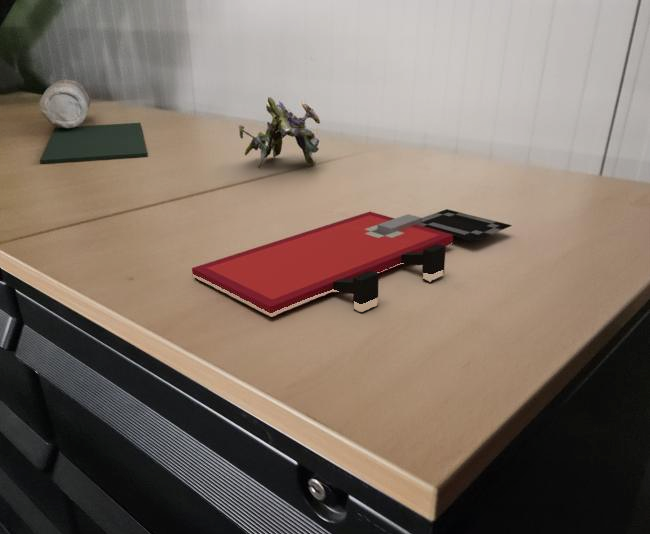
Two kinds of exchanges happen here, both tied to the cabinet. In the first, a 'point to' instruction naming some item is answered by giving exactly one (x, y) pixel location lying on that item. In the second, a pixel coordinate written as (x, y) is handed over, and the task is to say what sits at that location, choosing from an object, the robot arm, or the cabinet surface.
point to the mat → (95, 143)
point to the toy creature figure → (284, 132)
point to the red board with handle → (342, 257)
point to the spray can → (65, 103)
